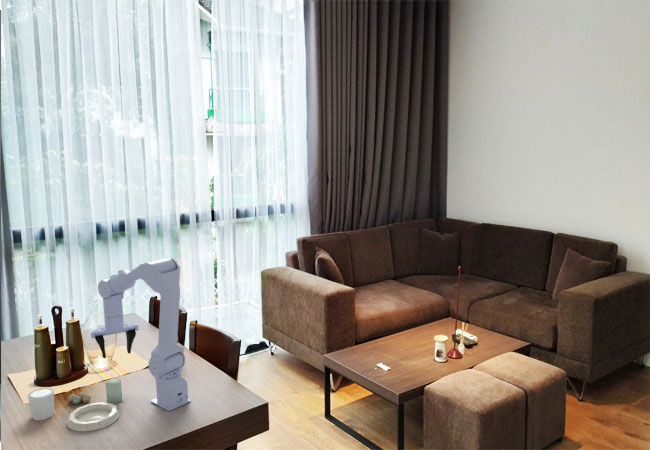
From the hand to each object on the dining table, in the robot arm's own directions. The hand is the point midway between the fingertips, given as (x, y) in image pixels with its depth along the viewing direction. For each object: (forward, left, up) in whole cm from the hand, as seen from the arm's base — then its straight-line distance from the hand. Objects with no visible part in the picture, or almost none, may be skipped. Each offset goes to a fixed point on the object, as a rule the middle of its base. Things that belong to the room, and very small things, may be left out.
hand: (116, 354), depth 182 cm
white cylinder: (-2, +26, -10) cm, 28 cm away
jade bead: (-10, +8, -10) cm, 16 cm away
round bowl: (-16, +18, -10) cm, 26 cm away
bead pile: (-3, +15, -10) cm, 18 cm away
